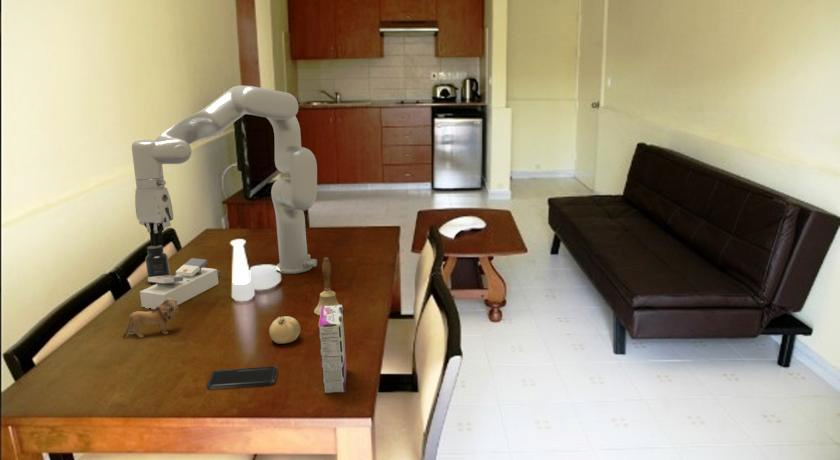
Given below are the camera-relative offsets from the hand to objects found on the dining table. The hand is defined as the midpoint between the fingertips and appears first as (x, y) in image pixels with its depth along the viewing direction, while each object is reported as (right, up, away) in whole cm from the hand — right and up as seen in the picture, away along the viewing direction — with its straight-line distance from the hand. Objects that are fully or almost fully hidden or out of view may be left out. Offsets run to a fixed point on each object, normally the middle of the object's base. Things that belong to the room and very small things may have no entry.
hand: (157, 244), depth 192 cm
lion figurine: (+5, -23, -16) cm, 29 cm away
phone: (+37, -30, -42) cm, 63 cm away
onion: (+42, -24, -22) cm, 54 cm away
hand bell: (+51, -19, -4) cm, 54 cm away
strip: (+4, -15, +14) cm, 21 cm away
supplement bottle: (-9, -13, +24) cm, 29 cm away
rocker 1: (+1, -11, +4) cm, 12 cm away
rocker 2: (+5, -8, +15) cm, 18 cm away
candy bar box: (+58, -30, -44) cm, 79 cm away
